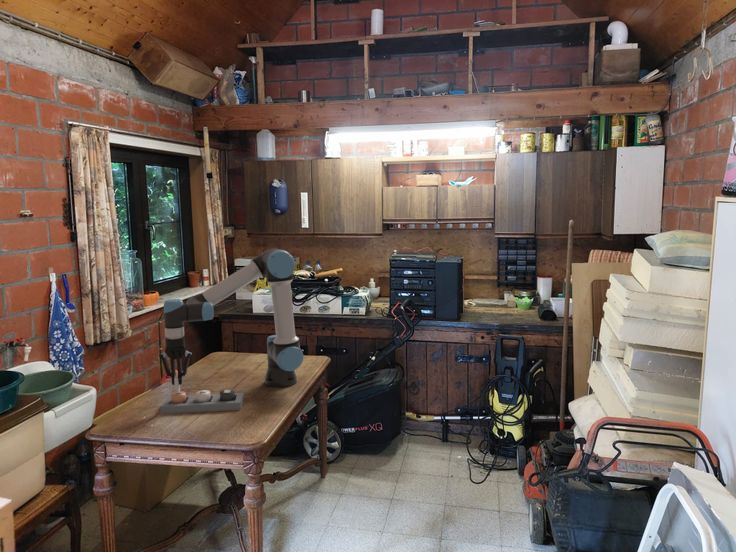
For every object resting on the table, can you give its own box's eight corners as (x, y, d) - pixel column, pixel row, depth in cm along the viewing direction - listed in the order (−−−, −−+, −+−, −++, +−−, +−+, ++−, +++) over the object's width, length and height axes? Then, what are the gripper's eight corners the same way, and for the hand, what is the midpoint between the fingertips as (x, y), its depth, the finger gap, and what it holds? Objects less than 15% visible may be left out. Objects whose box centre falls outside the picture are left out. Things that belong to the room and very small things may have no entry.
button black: (235, 396, 230) (235, 388, 230) (233, 401, 224) (233, 393, 224) (221, 397, 230) (221, 389, 229) (219, 402, 224) (218, 394, 223)
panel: (243, 399, 234) (243, 392, 233) (240, 409, 222) (240, 402, 222) (168, 403, 230) (167, 396, 230) (160, 413, 218) (160, 406, 218)
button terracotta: (187, 398, 228) (187, 390, 227) (184, 404, 222) (184, 395, 222) (173, 399, 227) (172, 391, 227) (169, 404, 221) (169, 396, 221)
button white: (211, 397, 229) (211, 389, 229) (209, 402, 223) (208, 394, 223) (197, 398, 228) (197, 390, 228) (194, 403, 223) (194, 395, 222)
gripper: (193, 334, 225) (195, 388, 228) (160, 335, 224) (163, 389, 227) (189, 338, 218) (191, 394, 221) (155, 339, 217) (159, 395, 220)
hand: (177, 391), depth 224 cm, fingers closed
